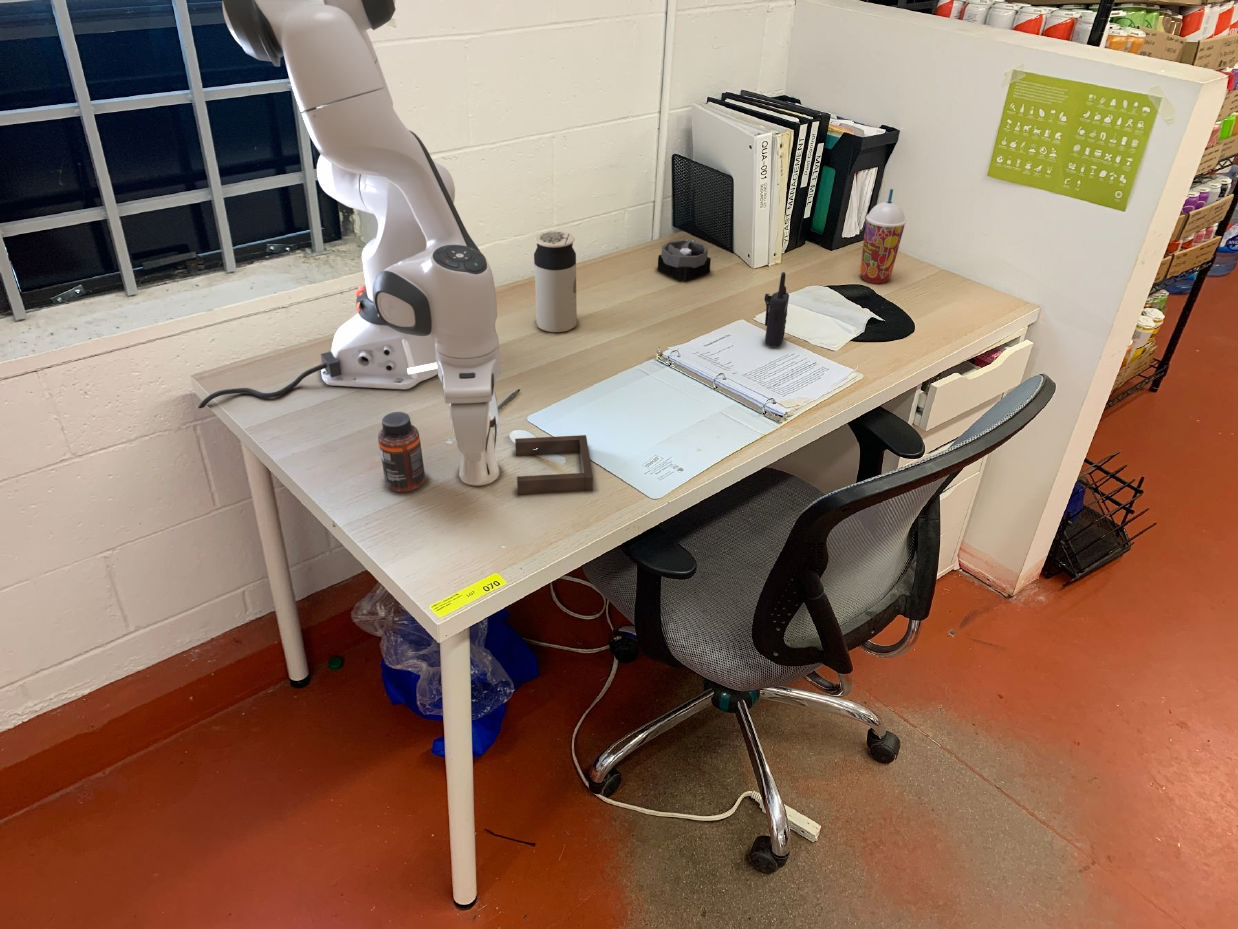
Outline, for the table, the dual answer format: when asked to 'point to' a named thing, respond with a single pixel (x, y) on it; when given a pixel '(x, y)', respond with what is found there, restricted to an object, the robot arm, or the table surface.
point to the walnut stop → (557, 480)
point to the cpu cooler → (684, 260)
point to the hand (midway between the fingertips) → (475, 444)
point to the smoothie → (881, 240)
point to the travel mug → (555, 281)
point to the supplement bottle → (401, 453)
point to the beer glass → (483, 453)
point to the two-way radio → (776, 314)
